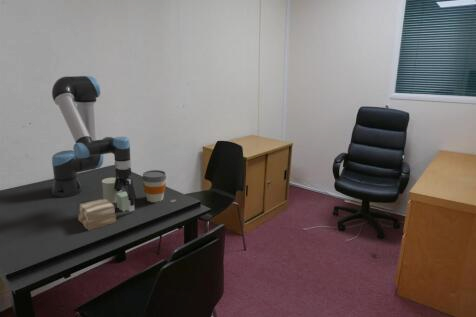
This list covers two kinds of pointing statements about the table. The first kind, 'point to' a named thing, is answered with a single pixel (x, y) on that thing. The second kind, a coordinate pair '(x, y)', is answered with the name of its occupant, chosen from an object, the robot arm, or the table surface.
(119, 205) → the green block
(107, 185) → the can
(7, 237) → the table surface
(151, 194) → the reusable coffee cup
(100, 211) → the tower top
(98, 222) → the block
